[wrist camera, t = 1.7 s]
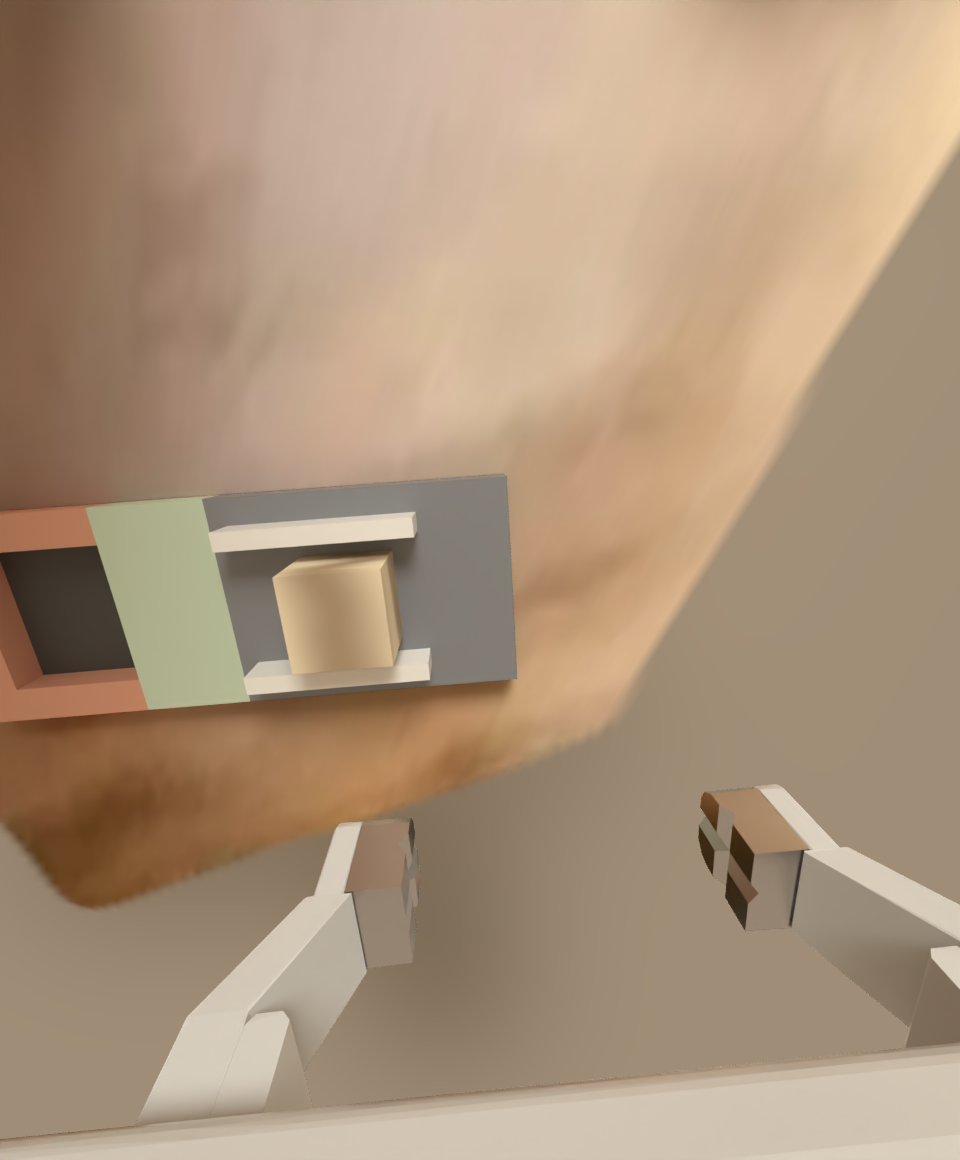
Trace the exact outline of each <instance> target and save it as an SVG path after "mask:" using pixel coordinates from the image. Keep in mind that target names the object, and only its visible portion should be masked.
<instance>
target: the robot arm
mask: <svg viewBox="0 0 960 1160" xmlns="http://www.w3.org/2000/svg"><path fill="white" fill-rule="evenodd" d="M700 808H701V809H702V811H703V812H704V814H705V815H706V817H705V818H704V819H703V821H702V822H701V823H700V824H699V836H698V839H699V843H700V848H701V852H702V855H703V858H704V860H705V863H706V865H707V867H708V869H709V870H710V872H711V874H712V876H713V877H715V878H716V879H718V880H719V881H721V882H722V883H723V884H725V885H726V892H725V898H726V900H727V901H728V903H729V905H730V906H731V908H732V910H733V912H734V913H735V915H736V917H737V918H738V920H739V921H740V923H741V925H742V927H743V928H744V930H745V931H754V930H771V929H787V928H791V931H792V932H793V933H794V934H795V935H797V936H798V937H799V938H801V939H802V940H803V941H804V942H805V943H806V944H808V945H809V946H810V947H811V948H813V949H814V950H815V951H816V952H817V953H819V954H820V955H821V956H822V957H824V958H825V959H826V960H827V961H828V962H830V963H831V964H832V965H833V966H835V967H836V968H837V969H838V970H839V971H841V972H842V973H843V974H845V975H846V976H847V977H848V978H849V979H851V980H852V981H853V982H854V983H856V984H857V985H858V986H859V987H860V988H861V989H863V990H864V991H865V992H866V993H868V994H869V995H870V996H871V997H873V998H874V999H875V1000H876V1001H877V1002H879V1003H880V1004H881V1005H882V1006H884V1007H885V1008H886V1009H887V1010H888V1011H890V1012H891V1013H892V1014H893V1015H895V1016H896V1017H897V1018H898V1019H899V1020H901V1021H902V1022H903V1023H904V1024H906V1025H907V1026H908V1027H909V1030H908V1033H907V1037H906V1040H905V1044H904V1047H903V1048H900V1049H890V1050H880V1051H870V1052H861V1053H850V1054H842V1055H832V1056H821V1057H812V1058H801V1059H792V1060H781V1061H772V1062H762V1063H752V1064H742V1065H732V1066H722V1067H714V1068H713V1067H712V1068H703V1069H693V1070H683V1071H673V1072H663V1073H653V1074H644V1075H634V1076H624V1077H614V1078H604V1079H594V1080H585V1081H575V1082H565V1083H555V1084H546V1085H536V1086H526V1087H516V1088H506V1089H496V1090H487V1091H476V1092H466V1093H456V1094H446V1095H436V1096H426V1097H416V1098H407V1099H397V1100H387V1101H377V1102H367V1103H357V1104H348V1105H337V1106H328V1107H317V1108H313V1105H312V1101H311V1097H310V1093H309V1090H308V1087H307V1082H306V1079H305V1075H304V1071H305V1069H306V1068H307V1066H308V1065H309V1063H310V1061H311V1060H312V1058H313V1057H314V1055H315V1054H316V1052H317V1050H318V1048H319V1047H320V1046H321V1044H322V1042H323V1041H324V1039H325V1038H326V1036H327V1035H328V1033H329V1031H330V1030H331V1028H332V1027H333V1025H334V1023H335V1022H336V1020H337V1019H338V1017H339V1015H340V1014H341V1012H342V1011H343V1009H344V1008H345V1006H346V1004H347V1003H348V1001H349V1000H350V998H351V996H352V995H353V993H354V991H355V990H356V988H357V987H358V985H359V984H360V982H361V980H362V979H363V977H364V976H365V974H366V973H367V971H366V969H367V968H376V967H384V966H392V965H399V964H407V963H412V962H413V955H414V944H415V933H416V920H415V914H414V909H415V907H416V906H417V905H418V901H419V889H420V888H419V887H420V870H419V857H418V850H417V849H416V848H414V840H415V828H414V823H413V819H412V818H406V819H390V820H374V821H364V822H352V823H340V824H339V825H338V826H337V828H336V829H335V832H334V835H333V838H332V841H331V844H330V847H329V850H328V853H327V856H326V859H325V862H324V865H323V868H322V871H321V874H320V877H319V881H318V884H317V887H316V890H315V893H314V896H312V897H305V898H304V899H303V900H302V901H301V902H300V903H299V904H298V905H297V906H296V907H295V908H294V909H293V910H292V911H291V912H290V914H288V915H287V916H286V918H285V919H284V920H283V921H282V922H281V923H280V924H279V925H278V926H277V927H276V928H275V929H274V930H273V931H272V932H271V933H270V934H269V935H268V936H267V937H266V938H265V939H264V940H263V941H262V942H261V943H260V944H259V945H258V946H257V947H256V948H255V949H254V950H253V951H252V952H251V953H250V954H249V955H248V956H247V957H246V958H245V959H244V960H243V961H242V962H241V963H240V964H239V965H238V966H237V967H236V968H235V969H234V970H233V971H232V972H231V973H230V974H229V975H228V976H227V977H226V978H225V979H224V980H223V981H222V982H221V983H220V984H219V985H218V986H217V987H216V988H215V989H214V990H213V991H212V992H211V993H210V994H209V995H208V996H207V997H206V998H205V999H204V1000H203V1001H202V1002H201V1003H200V1004H199V1005H198V1006H197V1007H196V1008H195V1009H194V1010H193V1011H192V1012H191V1014H189V1016H187V1018H186V1020H185V1022H184V1024H183V1026H182V1028H181V1031H180V1033H179V1035H178V1037H177V1039H176V1041H175V1043H174V1045H173V1047H172V1049H171V1051H170V1054H169V1055H168V1058H167V1060H166V1062H165V1064H164V1066H163V1068H162V1070H161V1072H160V1074H159V1076H158V1078H157V1080H156V1083H155V1085H154V1087H153V1089H152V1091H151V1093H150V1095H149V1097H148V1099H147V1101H146V1103H145V1106H144V1108H143V1110H142V1112H141V1114H140V1116H139V1118H138V1120H137V1122H136V1124H135V1126H128V1127H119V1128H108V1129H98V1130H88V1131H78V1132H68V1133H58V1134H48V1135H38V1136H28V1137H18V1138H8V1139H0V1160H960V905H959V904H957V903H955V902H953V901H951V900H949V899H947V898H945V897H943V896H941V895H939V894H937V893H935V892H933V891H931V890H929V889H928V888H926V887H924V886H922V885H920V884H918V883H916V882H914V881H912V880H910V879H908V878H906V877H904V876H902V875H901V874H898V873H897V872H895V871H893V870H891V869H889V868H887V867H885V866H883V865H881V864H879V863H877V862H875V861H873V860H871V859H869V858H867V857H866V856H863V855H862V854H860V853H858V852H856V851H854V850H852V849H850V848H848V847H843V848H840V847H839V846H838V845H837V844H836V843H835V842H834V841H833V840H832V839H831V838H830V837H829V836H828V835H827V834H826V833H825V832H824V831H823V829H821V827H820V826H819V825H818V824H817V823H816V822H815V821H814V820H813V819H812V818H811V817H810V816H809V815H808V814H807V813H806V812H805V811H804V809H803V808H802V807H801V806H800V805H799V804H798V803H797V802H796V801H795V800H794V799H793V798H792V797H791V796H790V795H789V794H788V793H787V792H786V791H785V789H784V788H782V787H781V786H778V785H777V784H774V785H764V786H754V787H751V788H750V787H747V788H737V789H727V790H716V791H706V792H704V793H703V795H702V797H701V805H700Z"/></svg>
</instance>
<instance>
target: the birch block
mask: <svg viewBox="0 0 960 1160" xmlns="http://www.w3.org/2000/svg"><path fill="white" fill-rule="evenodd" d="M272 579H273V584H274V589H275V594H276V599H277V604H278V608H279V613H280V618H281V623H282V628H283V633H284V637H285V642H286V647H287V652H288V657H289V662H290V666H291V671H292V675H294V674H306V673H318V672H330V671H342V670H354V669H366V668H378V667H390V666H394V663H395V659H396V656H397V652H398V649H399V646H400V642H401V639H402V635H403V632H402V624H401V616H400V608H399V600H398V592H397V584H396V577H395V569H394V561H393V553H392V550H388V551H375V552H363V553H350V554H337V555H324V556H311V557H300V558H299V559H297V560H296V561H295V562H293V563H292V564H291V565H289V566H288V567H286V568H285V569H284V570H282V571H281V572H279V573H278V574H277V575H275V576H274V577H273V578H272Z"/></svg>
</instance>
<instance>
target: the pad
mask: <svg viewBox="0 0 960 1160" xmlns="http://www.w3.org/2000/svg"><path fill="white" fill-rule="evenodd" d="M213 496H218V495H213ZM213 496H199V497H186V498H173V499H159V500H146V501H132V502H119V503H110V504H104V505H98V506H92V507H87V508H85V509H86V512H87V515H88V518H89V522H90V525H91V528H92V531H93V534H94V538H95V541H96V544H97V547H98V550H99V554H100V557H101V560H102V563H103V566H104V569H105V573H106V576H107V579H108V582H109V585H110V589H111V592H112V595H113V598H114V601H115V605H116V608H117V611H118V614H119V617H120V620H121V624H122V627H123V630H124V633H125V636H126V640H127V643H128V646H129V649H130V652H131V656H132V659H133V662H134V665H135V668H136V671H137V675H138V678H139V681H140V684H141V687H142V691H143V694H144V697H145V700H146V703H147V707H148V710H154V709H166V708H178V707H190V706H202V705H213V704H225V703H237V702H249V701H250V698H249V695H247V692H246V688H245V684H244V680H243V679H244V673H243V669H242V664H241V660H240V656H239V652H238V648H237V644H236V639H235V635H234V631H233V627H232V623H231V619H230V615H229V610H228V606H227V602H226V598H225V594H224V590H223V585H222V581H221V577H220V573H219V569H218V565H217V560H216V556H215V553H213V552H212V547H211V543H210V539H209V535H208V533H209V532H210V531H209V527H208V523H207V519H206V515H205V510H204V506H203V502H202V499H204V498H209V497H213Z"/></svg>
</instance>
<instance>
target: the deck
mask: <svg viewBox="0 0 960 1160" xmlns="http://www.w3.org/2000/svg"><path fill="white" fill-rule="evenodd" d="M202 502H203V506H204V510H205V515H206V519H207V523H208V527H209V531H210V532H212V531H215V530H218V529H221V528H223V527H226V526H234V525H247V524H260V523H274V522H287V521H300V520H313V519H326V518H340V517H353V516H366V515H379V514H392V513H406V512H416V521H417V532H416V534H415V536H414V537H412V538H399V539H386V540H373V541H360V542H347V543H334V544H321V545H308V546H295V547H282V548H269V549H256V550H243V551H230V552H217V553H215V556H216V560H217V565H218V569H219V573H220V577H221V581H222V585H223V590H224V594H225V598H226V602H227V606H228V610H229V615H230V619H231V623H232V627H233V631H234V635H235V639H236V644H237V648H238V652H239V656H240V660H241V664H242V669H243V673H244V677H245V676H246V675H247V674H248V673H249V672H250V671H251V670H252V669H253V668H254V667H255V665H256V664H257V663H258V662H266V661H278V660H289V657H288V652H287V647H286V642H285V637H284V633H283V628H282V623H281V618H280V613H279V608H278V604H277V599H276V594H275V589H274V584H273V579H272V578H273V577H274V576H275V575H277V574H278V573H279V572H281V571H282V570H284V569H285V568H286V567H288V566H289V565H291V564H292V563H293V562H295V561H296V560H297V559H299V558H300V557H311V556H324V555H337V554H350V553H363V552H375V551H388V550H392V553H393V561H394V569H395V577H396V584H397V592H398V600H399V608H400V616H401V624H402V632H403V635H402V639H401V642H400V646H399V649H398V651H399V650H412V649H424V648H430V649H431V658H432V668H431V676H430V680H424V681H412V682H400V683H388V684H376V685H364V686H352V687H340V688H328V689H316V690H304V691H292V692H280V693H268V694H256V695H249V698H250V701H261V700H273V699H285V698H297V697H309V696H321V695H332V694H344V693H356V692H368V691H380V690H392V689H404V688H416V687H428V686H440V685H452V684H463V683H475V682H487V681H499V680H511V679H517V664H516V645H515V625H514V606H513V587H512V568H511V548H510V529H509V510H508V491H507V476H506V475H504V474H495V475H482V476H468V477H455V478H441V479H428V480H415V481H401V482H388V483H374V484H361V485H347V486H334V487H320V488H307V489H293V490H280V491H266V492H253V493H240V494H226V495H218V496H213V497H209V498H204V499H202ZM105 504H110V503H105ZM98 505H104V504H92V505H78V506H65V507H51V508H38V509H24V510H11V511H0V722H11V721H23V720H35V719H47V718H58V717H70V716H82V715H94V714H106V713H118V712H130V711H142V710H148V707H147V703H146V700H145V697H144V694H143V691H142V687H141V684H140V681H139V678H138V675H137V671H136V668H135V665H134V662H133V659H132V656H131V652H130V649H129V646H128V643H127V640H126V636H125V633H124V630H123V627H122V624H121V620H120V617H119V614H118V611H117V608H116V605H115V601H114V598H113V595H112V592H111V589H110V585H109V582H108V579H107V576H106V573H105V569H104V566H103V563H102V560H101V557H100V554H99V550H98V547H97V544H96V541H95V538H94V534H93V531H92V528H91V525H90V522H89V518H88V515H87V512H86V509H85V508H87V507H92V506H98Z"/></svg>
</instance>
